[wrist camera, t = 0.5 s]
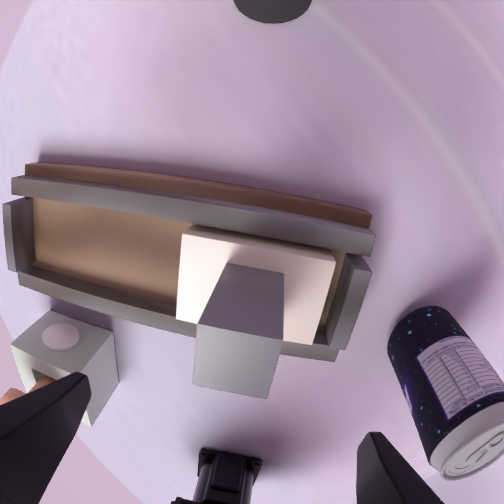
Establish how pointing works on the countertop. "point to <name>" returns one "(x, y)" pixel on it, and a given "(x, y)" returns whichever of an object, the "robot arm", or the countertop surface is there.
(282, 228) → the rail
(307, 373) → the countertop surface
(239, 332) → the carriage
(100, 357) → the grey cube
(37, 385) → the button
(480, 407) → the beverage can
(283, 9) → the sundae
